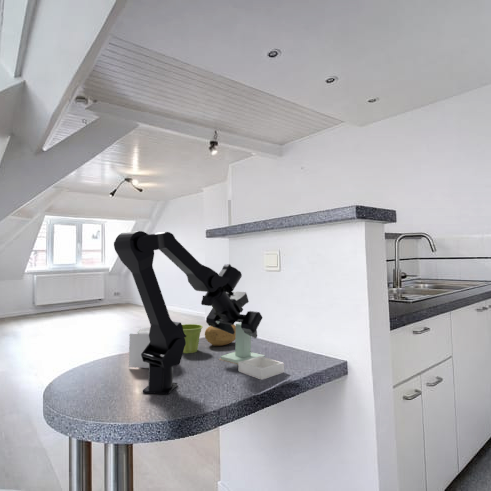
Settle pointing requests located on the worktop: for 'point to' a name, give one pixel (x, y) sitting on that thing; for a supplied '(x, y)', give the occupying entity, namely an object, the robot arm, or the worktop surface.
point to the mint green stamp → (241, 347)
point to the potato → (219, 336)
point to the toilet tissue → (138, 348)
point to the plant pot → (191, 337)
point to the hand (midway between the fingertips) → (244, 335)
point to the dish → (261, 367)
